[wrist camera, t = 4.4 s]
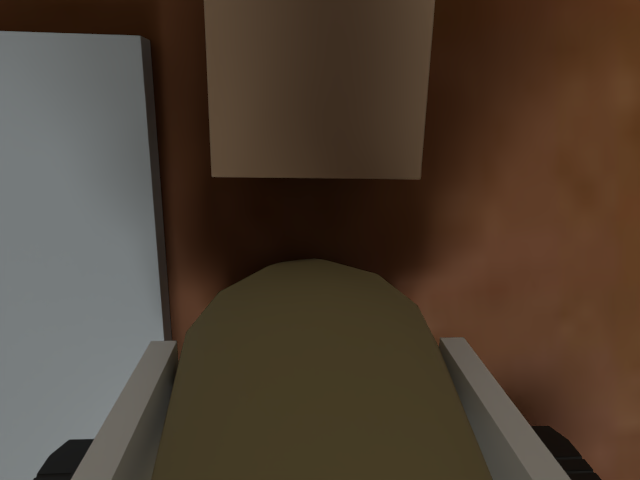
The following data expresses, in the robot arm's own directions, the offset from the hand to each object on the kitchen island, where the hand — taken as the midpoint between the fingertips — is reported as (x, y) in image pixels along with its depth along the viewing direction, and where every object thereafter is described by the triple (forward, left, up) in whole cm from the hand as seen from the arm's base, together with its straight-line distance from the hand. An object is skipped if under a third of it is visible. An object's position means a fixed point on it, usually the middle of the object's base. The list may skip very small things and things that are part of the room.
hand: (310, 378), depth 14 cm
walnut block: (0, +9, -3) cm, 10 cm away
